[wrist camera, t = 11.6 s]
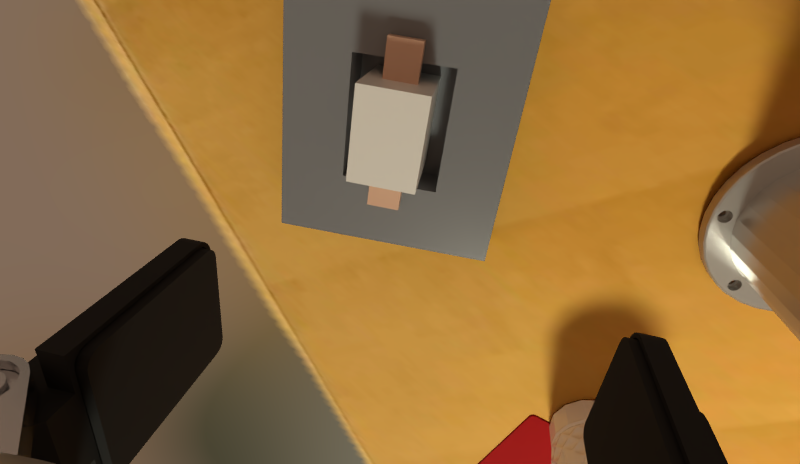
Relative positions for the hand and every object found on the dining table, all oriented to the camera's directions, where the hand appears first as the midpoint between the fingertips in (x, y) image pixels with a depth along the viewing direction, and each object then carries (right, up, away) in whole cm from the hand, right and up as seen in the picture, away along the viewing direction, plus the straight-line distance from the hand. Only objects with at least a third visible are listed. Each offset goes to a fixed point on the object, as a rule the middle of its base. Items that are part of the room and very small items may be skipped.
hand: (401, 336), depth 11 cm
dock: (0, +10, +21) cm, 23 cm away
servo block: (0, +10, +20) cm, 22 cm away
